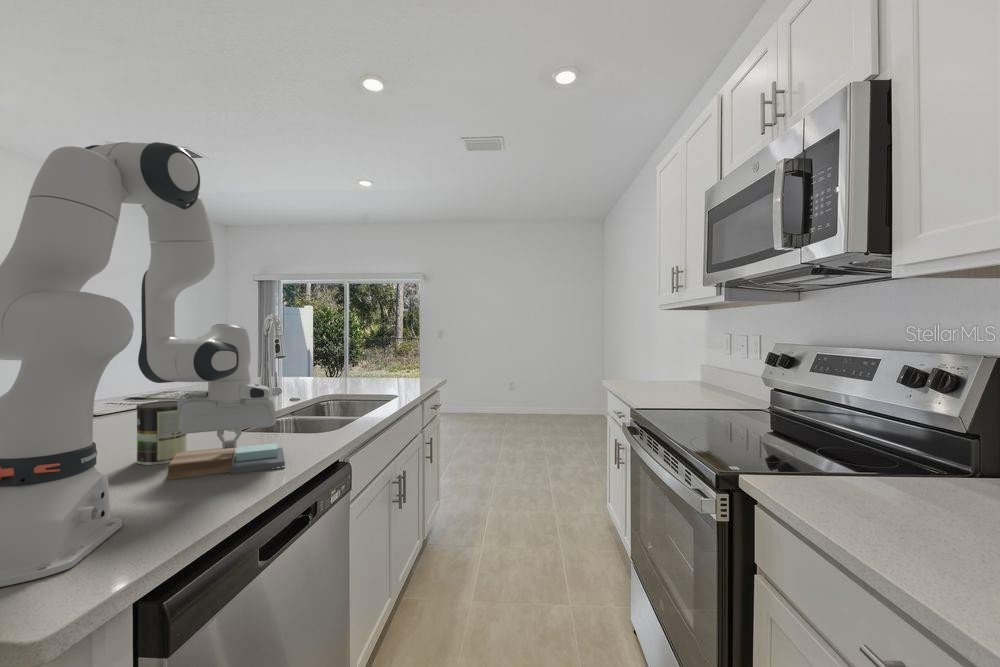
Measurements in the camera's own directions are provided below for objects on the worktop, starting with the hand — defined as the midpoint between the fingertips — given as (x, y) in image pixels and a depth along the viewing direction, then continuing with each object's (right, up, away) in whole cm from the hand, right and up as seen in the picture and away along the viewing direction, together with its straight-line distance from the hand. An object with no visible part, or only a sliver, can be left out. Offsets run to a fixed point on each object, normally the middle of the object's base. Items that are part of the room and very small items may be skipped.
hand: (229, 447), depth 109 cm
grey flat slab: (+6, -4, +2) cm, 8 cm away
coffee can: (-19, -4, +4) cm, 20 cm away
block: (+5, -3, +3) cm, 7 cm away
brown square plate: (-5, -4, -3) cm, 7 cm away
